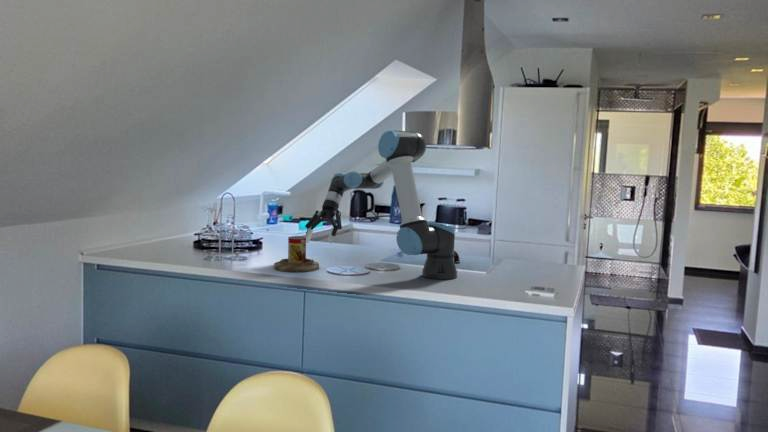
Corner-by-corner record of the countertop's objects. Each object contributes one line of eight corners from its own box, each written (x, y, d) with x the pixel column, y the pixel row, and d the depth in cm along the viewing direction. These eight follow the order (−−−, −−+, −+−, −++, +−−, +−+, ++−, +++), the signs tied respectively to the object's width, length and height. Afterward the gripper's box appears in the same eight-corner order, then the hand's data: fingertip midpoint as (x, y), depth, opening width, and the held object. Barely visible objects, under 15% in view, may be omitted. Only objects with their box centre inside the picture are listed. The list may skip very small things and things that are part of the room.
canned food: (306, 265, 279) (307, 238, 278) (288, 265, 277) (289, 238, 276) (304, 262, 287) (304, 236, 286) (287, 262, 285) (287, 236, 284)
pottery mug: (462, 265, 303) (455, 251, 300) (444, 273, 304) (437, 259, 302) (460, 255, 314) (453, 241, 312) (443, 262, 316) (436, 249, 313)
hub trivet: (328, 269, 282) (328, 261, 282) (291, 274, 268) (291, 266, 268) (301, 262, 296) (301, 255, 296) (265, 267, 283) (265, 259, 282)
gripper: (356, 206, 297) (343, 245, 288) (315, 207, 311) (301, 245, 301) (348, 198, 292) (334, 237, 283) (307, 199, 305) (292, 237, 296)
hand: (317, 241), depth 292 cm, fingers open, 13 cm apart
